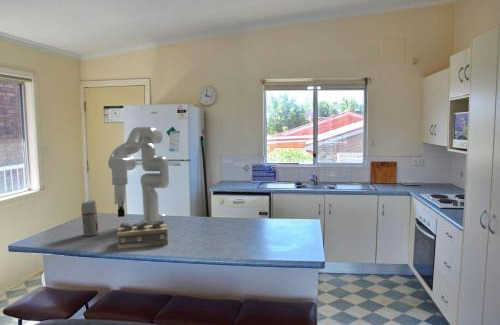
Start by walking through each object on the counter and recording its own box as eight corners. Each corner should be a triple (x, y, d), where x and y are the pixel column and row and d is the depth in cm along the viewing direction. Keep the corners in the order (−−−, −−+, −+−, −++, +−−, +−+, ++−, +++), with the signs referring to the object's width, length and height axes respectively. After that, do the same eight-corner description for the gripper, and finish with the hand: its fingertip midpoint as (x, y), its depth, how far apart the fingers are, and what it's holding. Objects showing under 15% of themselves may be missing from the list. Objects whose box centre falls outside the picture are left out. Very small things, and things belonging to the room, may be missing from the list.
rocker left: (120, 225, 210) (121, 222, 210) (132, 227, 212) (132, 224, 212) (120, 227, 206) (120, 224, 206) (131, 229, 208) (132, 226, 208)
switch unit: (118, 241, 214) (117, 222, 213) (166, 237, 221) (165, 219, 220) (117, 249, 202) (116, 228, 201) (167, 244, 209) (167, 224, 208)
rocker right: (152, 225, 215) (151, 222, 214) (163, 221, 216) (162, 219, 216) (152, 227, 211) (151, 224, 210) (163, 223, 212) (163, 220, 212)
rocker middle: (137, 226, 212) (136, 224, 212) (148, 223, 214) (147, 220, 213) (137, 228, 208) (136, 226, 208) (148, 224, 210) (147, 222, 209)
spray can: (93, 237, 224) (91, 202, 222) (80, 236, 225) (78, 201, 223) (101, 233, 232) (100, 199, 230) (89, 232, 234) (87, 198, 232)
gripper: (113, 180, 212) (114, 213, 213) (111, 183, 197) (112, 220, 199) (127, 179, 214) (129, 212, 215) (127, 183, 199) (128, 219, 201)
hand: (121, 216), depth 207 cm, fingers closed
